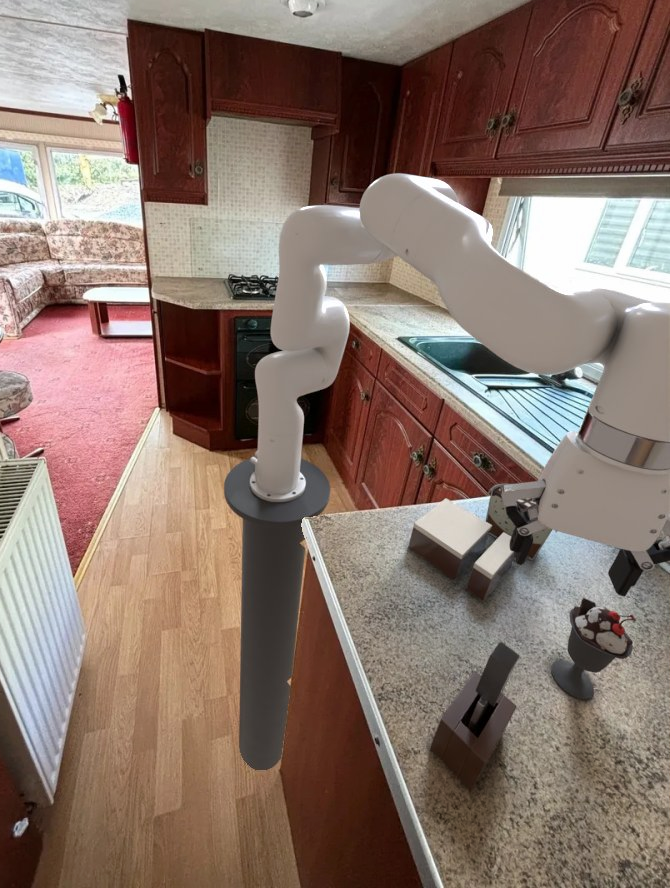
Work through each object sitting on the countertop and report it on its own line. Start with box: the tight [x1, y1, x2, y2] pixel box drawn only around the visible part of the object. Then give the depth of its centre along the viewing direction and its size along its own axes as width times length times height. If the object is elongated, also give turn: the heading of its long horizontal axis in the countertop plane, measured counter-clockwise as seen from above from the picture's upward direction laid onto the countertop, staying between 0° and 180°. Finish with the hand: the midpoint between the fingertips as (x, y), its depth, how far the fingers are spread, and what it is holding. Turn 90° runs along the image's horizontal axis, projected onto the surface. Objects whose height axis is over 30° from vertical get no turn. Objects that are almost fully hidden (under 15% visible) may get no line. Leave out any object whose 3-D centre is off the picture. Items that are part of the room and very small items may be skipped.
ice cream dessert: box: [485, 483, 558, 561], centre depth 76 cm, size 12×6×10 cm, turn 40°
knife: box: [466, 640, 520, 736], centre depth 44 cm, size 2×4×16 cm, turn 132°
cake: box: [407, 498, 492, 582], centre depth 73 cm, size 9×11×6 cm
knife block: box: [429, 670, 518, 793], centre depth 46 cm, size 5×8×6 cm, turn 132°
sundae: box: [550, 597, 637, 700], centre depth 52 cm, size 7×7×15 cm
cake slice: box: [465, 532, 515, 602], centre depth 68 cm, size 3×11×6 cm, turn 132°
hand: (565, 569), depth 45 cm, fingers open, 9 cm apart
